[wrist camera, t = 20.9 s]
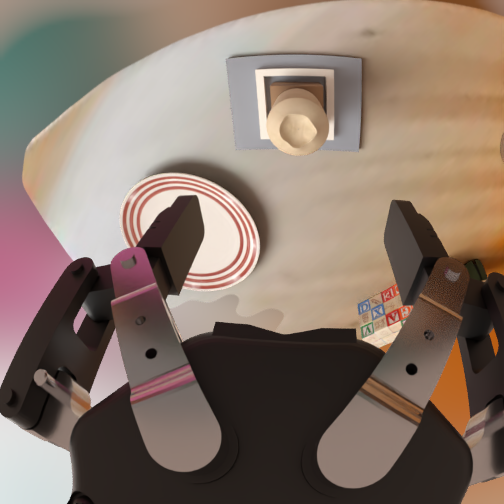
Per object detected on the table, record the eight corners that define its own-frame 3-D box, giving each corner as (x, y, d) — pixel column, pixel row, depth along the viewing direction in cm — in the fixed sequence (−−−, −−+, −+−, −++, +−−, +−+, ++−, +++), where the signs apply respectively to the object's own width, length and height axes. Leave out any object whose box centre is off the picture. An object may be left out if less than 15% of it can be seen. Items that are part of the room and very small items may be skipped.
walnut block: (318, 82, 31) (323, 86, 26) (319, 123, 34) (323, 134, 30) (273, 82, 32) (269, 85, 27) (276, 122, 35) (272, 133, 31)
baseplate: (359, 58, 28) (364, 58, 26) (357, 149, 37) (360, 155, 35) (227, 58, 31) (223, 58, 29) (237, 147, 40) (233, 153, 38)
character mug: (490, 251, 42) (515, 295, 33) (485, 274, 46) (506, 317, 37) (452, 262, 46) (473, 310, 36) (448, 285, 50) (466, 331, 40)
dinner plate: (286, 264, 54) (284, 276, 51) (178, 292, 64) (174, 303, 62) (211, 136, 39) (205, 143, 37) (104, 202, 50) (95, 211, 48)
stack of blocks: (369, 316, 60) (375, 361, 51) (356, 303, 58) (362, 351, 49) (447, 274, 49) (466, 318, 39) (439, 257, 46) (460, 303, 37)
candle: (324, 92, 27) (336, 106, 19) (317, 135, 30) (324, 166, 23) (275, 84, 27) (267, 95, 19) (271, 128, 30) (261, 156, 23)
